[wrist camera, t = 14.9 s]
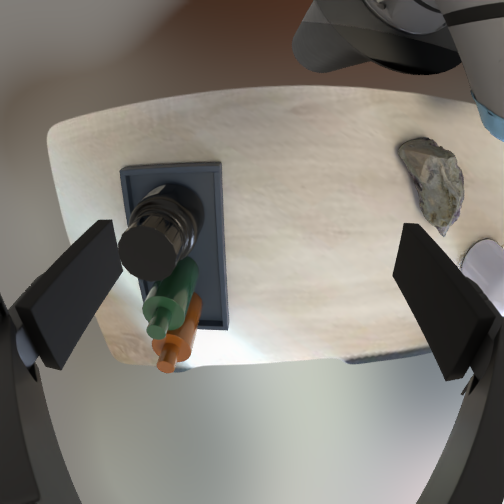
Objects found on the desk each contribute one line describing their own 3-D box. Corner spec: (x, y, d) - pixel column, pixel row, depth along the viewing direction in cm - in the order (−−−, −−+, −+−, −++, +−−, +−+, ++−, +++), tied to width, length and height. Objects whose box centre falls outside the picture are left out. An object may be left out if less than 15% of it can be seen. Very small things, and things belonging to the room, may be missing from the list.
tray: (125, 166, 40) (119, 170, 39) (221, 162, 40) (219, 165, 38) (152, 318, 53) (149, 326, 51) (229, 322, 53) (228, 330, 51)
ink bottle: (151, 172, 40) (113, 202, 30) (213, 189, 41) (195, 226, 31) (140, 234, 45) (107, 279, 34) (196, 251, 46) (177, 301, 35)
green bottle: (197, 254, 46) (175, 316, 34) (200, 286, 49) (182, 351, 36) (161, 253, 46) (128, 312, 34) (166, 284, 49) (139, 347, 37)
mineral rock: (441, 225, 43) (474, 257, 34) (381, 218, 43) (408, 252, 34) (460, 145, 37) (501, 163, 28) (398, 130, 37) (433, 143, 28)
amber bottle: (201, 289, 49) (183, 354, 37) (204, 316, 52) (189, 382, 39) (166, 288, 49) (140, 350, 37) (171, 315, 52) (150, 378, 40)
